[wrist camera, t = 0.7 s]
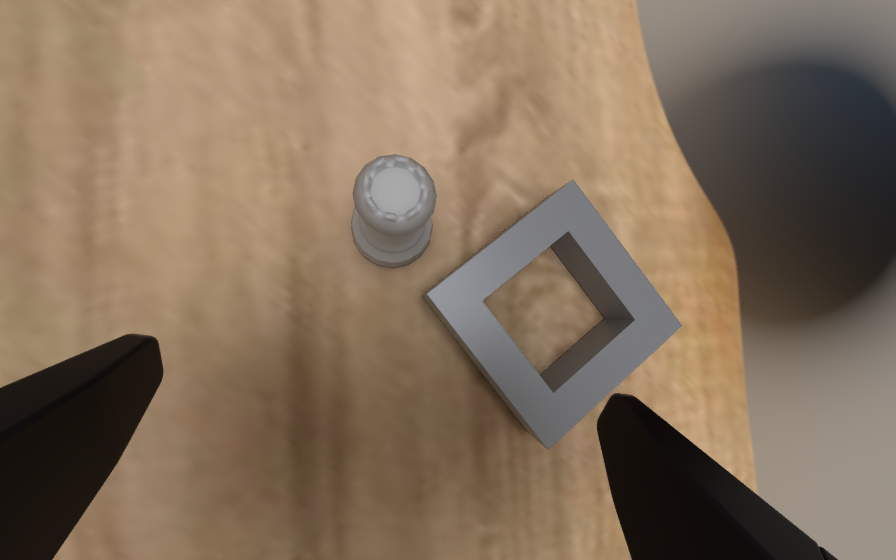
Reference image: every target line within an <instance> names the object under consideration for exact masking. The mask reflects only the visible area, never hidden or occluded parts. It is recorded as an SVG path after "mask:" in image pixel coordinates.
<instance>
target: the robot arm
mask: <svg viewBox="0 0 896 560" xmlns="http://www.w3.org/2000/svg"><path fill="white" fill-rule="evenodd" d="M162 378H163V364H162V359H161V353H160V348H159V343H158V340H157V339H156V338H155V337H153V336H149V335H140V334H127V335H124V336H121V337H119V338H117V339H114V340H112V341H110V342H107V343H105V344H103V345H100V346H98V347H96V348H93V349H91V350H88V351H86V352H84V353H81V354H79V355H77V356H74V357H72V358H70V359H67V360H65V361H63V362H60V363H58V364H55V365H53V366H51V367H48V368H46V369H44V370H41V371H39V372H37V373H34V374H32V375H29V376H27V377H25V378H22V379H20V380H18V381H15V382H13V383H11V384H8V385H6V386H4V387H1V388H0V560H52V559H53V558H54V556H55V555H56V553H57V552H58V550H59V549H60V547H61V546H62V545H63V543H64V542H65V540H66V539H67V537H68V536H69V534H70V533H71V531H72V530H73V528H74V527H75V525H76V524H77V522H78V521H79V519H80V518H81V516H82V515H83V513H84V512H85V511H86V509H87V508H88V506H89V505H90V503H91V502H92V500H93V499H94V497H95V496H96V494H97V493H98V491H99V490H100V488H101V487H102V485H103V484H104V482H105V481H106V479H107V478H108V477H109V475H110V473H111V472H112V470H113V469H114V467H115V466H116V464H117V463H118V461H119V459H120V457H121V456H122V454H123V452H124V450H125V449H126V447H127V445H128V443H129V441H130V439H131V438H132V436H133V434H134V432H135V430H136V428H137V426H138V424H139V423H140V421H141V419H142V417H143V415H144V413H145V411H146V410H147V408H148V406H149V404H150V402H151V400H152V398H153V396H154V395H155V393H156V391H157V389H158V387H159V385H160V383H161V381H162ZM597 432H598V436H599V441H600V445H601V450H602V454H603V459H604V463H605V468H606V472H607V477H608V481H609V486H610V490H611V494H612V498H613V502H614V505H615V508H616V512H617V515H618V518H619V521H620V524H621V527H622V530H623V534H624V537H625V540H626V543H627V546H628V549H629V552H630V555H631V558H632V560H838V559H836V558H835V557H834V556H833V555H831V554H830V553H829V552H828V551H826V550H825V549H824V548H822V547H818V544H817V543H816V542H815V541H814V540H813V539H811V538H810V537H809V536H808V535H806V534H805V533H804V532H803V531H801V530H800V529H799V528H798V527H796V526H795V525H794V524H793V523H792V522H790V521H789V520H788V519H787V518H785V517H784V516H783V515H782V514H780V513H779V512H778V511H776V510H775V509H774V508H773V507H772V506H770V505H769V504H768V503H766V502H765V501H764V500H763V499H762V498H760V497H759V496H758V495H757V494H755V493H754V492H753V491H752V490H750V489H749V488H748V487H747V486H746V485H744V484H743V483H742V482H741V481H739V480H738V479H737V478H736V477H734V476H733V475H732V474H731V473H729V472H728V471H727V470H726V469H724V468H723V467H722V466H721V465H719V464H718V463H717V462H716V461H714V460H713V459H712V458H711V457H709V456H708V455H707V454H706V453H704V452H703V451H702V450H701V449H699V448H698V447H697V446H696V445H695V444H693V443H692V442H691V441H690V440H688V439H687V438H686V437H685V436H683V435H682V434H681V433H680V432H678V431H677V430H676V429H675V428H673V427H672V426H671V425H670V424H668V423H667V422H666V421H665V420H663V419H662V418H661V417H660V416H658V415H657V414H656V413H655V412H654V411H652V410H651V409H650V408H649V407H647V406H646V405H645V404H644V403H642V402H641V401H640V400H639V399H637V398H636V397H635V396H633V395H628V394H620V393H615V394H613V395H612V396H611V397H610V398H609V400H608V402H607V404H606V405H605V407H604V409H603V411H602V412H601V414H600V416H599V418H598V421H597Z"/></svg>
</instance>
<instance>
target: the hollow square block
mask: <svg viewBox="0 0 896 560" xmlns="http://www.w3.org/2000/svg"><path fill="white" fill-rule="evenodd" d="M549 246H550V247H551V248H552V249H553V251H554V252H555V253H556V255H557V256H558V257H559V258H560V260H561V261H562V262H563V264H564V265H565V266H566V268H567V269H568V270H569V272H570V273H571V274H572V276H573V277H574V278H575V280H576V281H577V282H578V284H579V285H580V286H581V288H582V289H583V290H584V292H585V293H586V294H587V296H588V297H589V298H590V300H591V301H592V302H593V304H594V305H595V306H596V308H597V309H598V310H599V311H600V313H601V314H602V315H603V317H604V319H603V320H602V321H601V322H600V323H599V324H597V325H596V326H595V327H594V328H593V329H592V330H591V331H589V332H588V333H587V334H586V335H585V336H584V337H583V338H582V339H580V340H579V341H578V342H577V343H576V344H575V345H574V346H572V347H571V348H570V349H569V350H568V351H567V352H566V353H564V354H563V355H562V356H561V357H560V358H559V359H558V360H557V361H555V362H554V363H553V364H552V365H551V366H550V367H549V368H547V369H546V370H545V371H544V372H543V373H542V374H541V375H539V374H538V372H537V371H536V370H535V369H534V367H533V366H532V365H531V363H530V362H529V361H528V359H527V358H526V357H525V356H524V354H523V353H522V352H521V350H520V349H519V348H518V347H517V345H516V344H515V343H514V341H513V340H512V339H511V337H510V336H509V335H508V334H507V332H506V331H505V330H504V328H503V327H502V326H501V324H500V323H499V322H498V321H497V319H496V318H495V317H494V315H493V314H492V313H491V311H490V310H489V309H488V308H487V306H486V305H485V304H484V302H483V300H484V299H485V298H486V297H488V296H489V295H490V294H491V293H493V292H494V291H495V290H496V289H497V288H499V287H500V286H501V285H502V284H504V283H505V282H506V281H507V280H509V279H510V278H511V277H512V276H513V275H515V274H516V273H517V272H518V271H520V270H521V269H522V268H523V267H525V266H526V265H527V264H528V263H530V262H531V261H532V260H533V259H534V258H536V257H537V256H538V255H539V254H541V253H542V252H543V251H544V250H546V249H547V248H548V247H549ZM421 296H422V297H423V298H424V300H425V301H426V302H427V303H428V305H429V306H430V307H431V309H432V310H433V311H434V312H435V314H436V315H437V316H438V318H439V319H440V320H441V321H442V323H443V324H444V325H445V327H446V328H447V329H448V330H449V332H450V333H451V334H452V336H453V337H454V338H455V339H456V341H457V342H458V343H459V345H460V346H461V347H462V348H463V350H464V351H465V352H466V354H467V355H468V356H469V357H470V359H471V360H472V361H473V363H474V364H475V365H476V366H477V368H478V369H479V370H480V372H481V373H482V374H483V375H484V377H485V378H486V379H487V381H488V382H489V383H490V384H491V386H492V387H493V388H494V389H495V391H496V392H497V393H498V395H499V396H500V397H501V398H502V400H503V401H504V402H505V404H506V405H507V406H508V407H509V409H510V410H511V411H512V413H513V414H514V415H515V416H516V418H517V419H518V420H519V422H520V423H521V424H522V425H523V427H524V428H525V429H526V431H527V432H528V433H530V434H531V435H532V436H533V437H534V438H535V439H536V440H537V441H539V442H540V443H541V444H542V445H543V446H544V447H545V448H547V449H548V450H549V449H550V448H551V447H552V446H553V445H554V444H555V443H556V442H557V441H558V440H559V439H561V438H562V437H563V436H564V435H565V434H566V433H567V432H568V431H569V430H570V429H571V428H572V427H573V426H575V425H576V424H577V423H578V422H579V421H580V420H581V419H582V418H583V417H584V416H585V415H586V414H588V413H589V412H590V411H591V410H592V409H593V408H594V407H595V406H596V405H597V404H598V403H599V402H600V401H602V400H603V399H604V398H605V397H606V396H607V395H608V394H609V393H610V392H611V391H612V390H613V389H614V388H616V387H617V386H618V385H619V384H620V383H621V382H622V381H623V380H624V379H625V378H626V377H627V376H629V375H630V374H631V373H632V372H633V371H634V370H635V369H636V368H637V367H638V366H639V365H640V364H641V363H643V362H644V361H645V360H646V359H647V358H648V357H649V356H650V355H651V354H652V353H653V352H654V351H655V350H657V349H658V348H659V347H660V346H661V345H662V344H663V343H664V342H665V341H666V340H667V339H668V338H670V337H671V336H672V335H673V334H674V333H675V332H676V331H677V330H678V329H679V328H680V327H681V326H682V325H681V323H680V322H679V321H678V319H677V318H676V317H675V315H674V314H673V313H672V311H671V310H670V309H669V307H668V306H667V305H666V303H665V302H664V300H663V299H662V298H661V296H660V295H659V294H658V292H657V291H656V290H655V288H654V287H653V286H652V284H651V283H650V282H649V280H648V279H647V278H646V276H645V275H644V274H643V272H642V271H641V270H640V268H639V267H638V266H637V264H636V263H635V262H634V260H633V259H632V257H631V256H630V255H629V253H628V252H627V251H626V249H625V248H624V247H623V245H622V244H621V243H620V241H619V240H618V239H617V237H616V236H615V235H614V233H613V232H612V231H611V229H610V228H609V227H608V225H607V224H606V223H605V221H604V220H603V219H602V217H601V216H600V214H599V213H598V212H597V210H596V209H595V208H594V206H593V205H592V204H591V202H590V201H589V200H588V198H587V197H586V196H585V194H584V193H583V192H582V190H581V189H580V188H579V186H578V185H577V184H576V182H575V181H574V180H571V181H570V182H568V183H567V184H565V185H564V186H563V187H561V188H560V189H558V190H557V191H555V192H554V193H552V194H551V195H549V196H548V197H547V198H545V199H544V200H543V201H542V202H540V203H539V204H538V205H537V206H535V207H534V208H533V209H531V210H530V211H529V212H528V213H526V214H525V215H524V216H522V217H521V218H520V219H519V220H517V221H516V222H515V223H514V224H512V225H511V226H510V227H508V228H507V229H506V230H505V231H503V232H502V233H501V234H499V235H498V236H497V237H496V238H494V239H493V240H492V241H490V242H489V243H488V244H487V245H485V246H484V247H483V248H482V249H480V250H479V251H478V252H476V253H475V254H474V255H473V256H471V257H470V258H469V259H467V260H466V261H465V262H464V263H462V264H461V265H460V266H459V267H457V268H456V269H455V270H453V271H452V272H451V273H450V274H448V275H447V276H446V277H444V278H443V279H442V280H441V281H439V282H438V283H437V284H436V285H434V286H433V287H432V288H430V289H429V290H428V291H427V292H425V293H424V294H423V295H421Z"/></svg>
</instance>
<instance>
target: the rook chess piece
mask: <svg viewBox="0 0 896 560" xmlns="http://www.w3.org/2000/svg"><path fill="white" fill-rule="evenodd" d="M436 197H437V196H436V191H435V186H434V181H433V180H432V178H431V177H430V175H429V174H428V172H427V171H426V169H425V168H424V167H423V166H422V165H420V164H419V163H417V162H416V161H414V160H413V159H412V158H409V157H404V156H400V155H396V154H394V155H387V156H380V157H378V158H376V159H374V160H373V161H371V162H369V163H368V164H366V165H365V166H364V167H363V169H362V170H361V172H360V173H359V174H358V176H357V177H356V180H355V185H354V189H353V198H354V203H355V208H354V212H353V217H352V221H351V229H352V234H353V239H354V243H355V244H356V246H357V247H358V249H359V250H360V252H361V253H362V255H363V256H364V257H366V258H367V259H369V260H371V261H372V262H374V263H375V264H377V265H382V266H387V267H392V268H393V267H398V266H403V265H408V264H410V263H411V262H413V261H414V260H416V259H417V258H419V257H420V256H421V255H422V253H423V252H424V250H425V249H426V247H427V246H428V244H429V242H430V237H431V231H432V226H433V225H432V220H431V215H432V214H433V212H434V208H435V202H436Z"/></svg>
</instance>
